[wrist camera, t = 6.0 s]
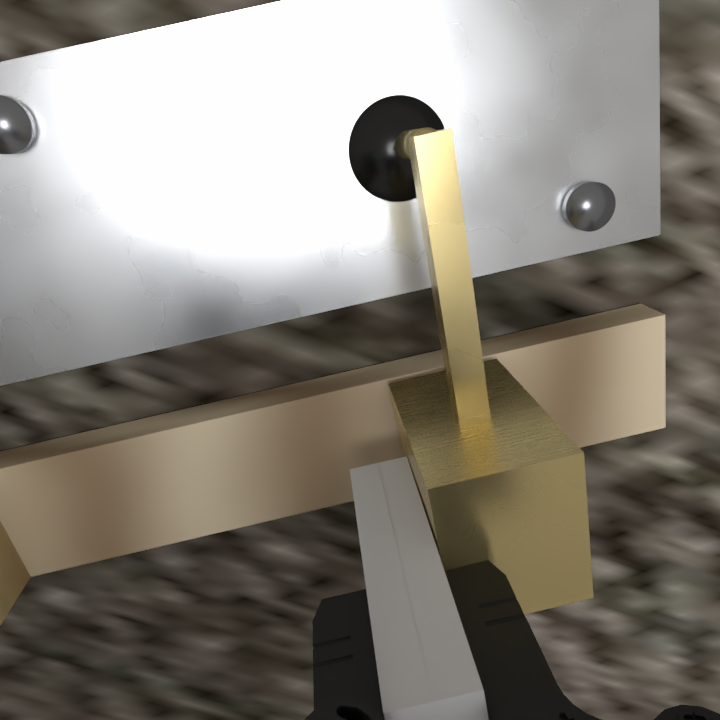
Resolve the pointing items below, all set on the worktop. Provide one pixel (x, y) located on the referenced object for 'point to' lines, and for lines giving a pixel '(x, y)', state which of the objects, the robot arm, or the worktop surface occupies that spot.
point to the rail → (294, 446)
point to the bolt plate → (307, 163)
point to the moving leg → (485, 425)
